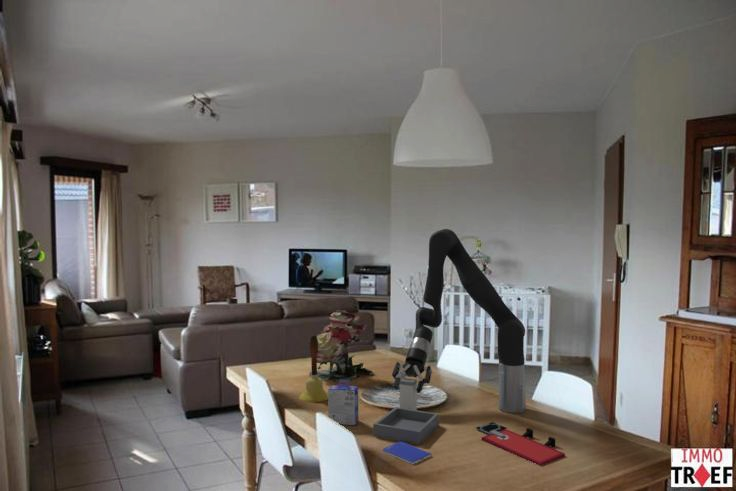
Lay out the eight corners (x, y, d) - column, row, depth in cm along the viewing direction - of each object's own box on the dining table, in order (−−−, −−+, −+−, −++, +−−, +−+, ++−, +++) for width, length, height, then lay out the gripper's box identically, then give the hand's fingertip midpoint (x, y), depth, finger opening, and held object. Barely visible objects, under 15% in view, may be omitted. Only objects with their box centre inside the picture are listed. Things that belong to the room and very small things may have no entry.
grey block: (416, 412, 196) (416, 379, 195) (412, 415, 192) (412, 382, 192) (404, 410, 198) (404, 378, 198) (400, 413, 194) (399, 381, 194)
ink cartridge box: (359, 420, 188) (358, 379, 188) (355, 425, 183) (355, 383, 182) (332, 418, 190) (331, 378, 190) (327, 424, 185) (327, 382, 184)
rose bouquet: (330, 364, 265) (330, 304, 264) (379, 373, 248) (378, 309, 247) (295, 376, 245) (294, 311, 244) (345, 387, 228) (344, 317, 227)
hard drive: (382, 448, 162) (413, 461, 152) (401, 440, 167) (431, 452, 158) (382, 453, 162) (413, 466, 153) (401, 445, 167) (431, 458, 158)
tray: (438, 425, 183) (438, 413, 182) (419, 444, 166) (419, 432, 166) (395, 418, 190) (395, 407, 190) (373, 436, 174) (373, 424, 173)
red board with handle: (496, 423, 184) (464, 433, 176) (496, 415, 184) (464, 425, 176) (572, 454, 159) (540, 468, 151) (572, 445, 159) (540, 459, 151)
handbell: (326, 391, 222) (325, 331, 221) (333, 400, 210) (332, 337, 209) (296, 394, 218) (295, 333, 217) (302, 403, 207) (301, 339, 206)
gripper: (398, 345, 204) (385, 382, 194) (433, 348, 198) (422, 387, 188) (403, 355, 209) (391, 393, 199) (438, 359, 203) (428, 398, 193)
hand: (406, 390), depth 194 cm, fingers open, 8 cm apart
